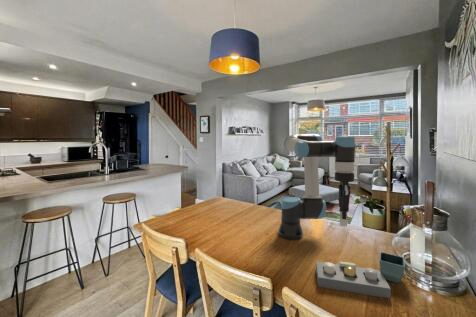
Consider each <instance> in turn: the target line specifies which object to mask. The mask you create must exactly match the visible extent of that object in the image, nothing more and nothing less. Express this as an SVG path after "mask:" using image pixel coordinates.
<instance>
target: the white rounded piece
mask: <svg viewBox="0 0 476 317" xmlns="http://www.w3.org/2000/svg"><path fill="white" fill-rule="evenodd" d="M334 264H335V263H332V262H329V261H328V262H324V273H326V274H333V275H335V265H334Z"/></svg>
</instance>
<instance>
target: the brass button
mask: <svg viewBox="0 0 476 317" xmlns="http://www.w3.org/2000/svg"><path fill="white" fill-rule="evenodd" d="M344 276H346V277H352V278H356V268H355V267H353V266H351V265H345V266H344Z"/></svg>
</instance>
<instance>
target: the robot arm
mask: <svg viewBox="0 0 476 317" xmlns="http://www.w3.org/2000/svg"><path fill="white" fill-rule="evenodd" d="M283 144H284V148H285V149H286V150H287V151H288V152H290V153H295V157H297V158H303V167H304V168H303V169H304V171H303V172H304V195H303V196H302V199H301V198H300V197H298V196H296V197H295V196H289V197H286V198H283V199H282V200H281V206H280V208H281V216H280V217H281V222H280V225H279V228H278V235H279V236H280V237H281V238H283V239H286V240H299V239H302V238H303V236H304V231H303V229H302V226H301V220H321V219H324V217H325V215H326V213H327V204H326V201H325V200H324V199H323V196H322V195H320V182H319V180H320V179H319V158H328V157H329V158H334V171H335V172H334V180H335V181H337V182H339V184H338V185H337V186H338V203H339V204H338V207H339V209H338V211H339V227H348V213H349V211H350V210H349V209H350V200H351V199H350V197H351V186H350V184H349V183H352V182H354V181H355V167H356V166H357V164H356V163H355V157H356V156H355V155H356V138H355V136H354V135H338V136H336V137H335V140H323V138H322V137H321V135H320V134H318V133H317V134H316V133H304V134H302V133H301V134H300V133H298V134H297V133H296V134H292V135H289V136H287V137H286V138H285V140H284V143H283Z"/></svg>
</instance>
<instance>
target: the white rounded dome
mask: <svg viewBox="0 0 476 317" xmlns="http://www.w3.org/2000/svg"><path fill="white" fill-rule="evenodd" d="M365 268H366V269H365V278H366V280H372V281H377V276H378V272H377V271H376V270H377V269H374V268H372V267H365Z"/></svg>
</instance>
